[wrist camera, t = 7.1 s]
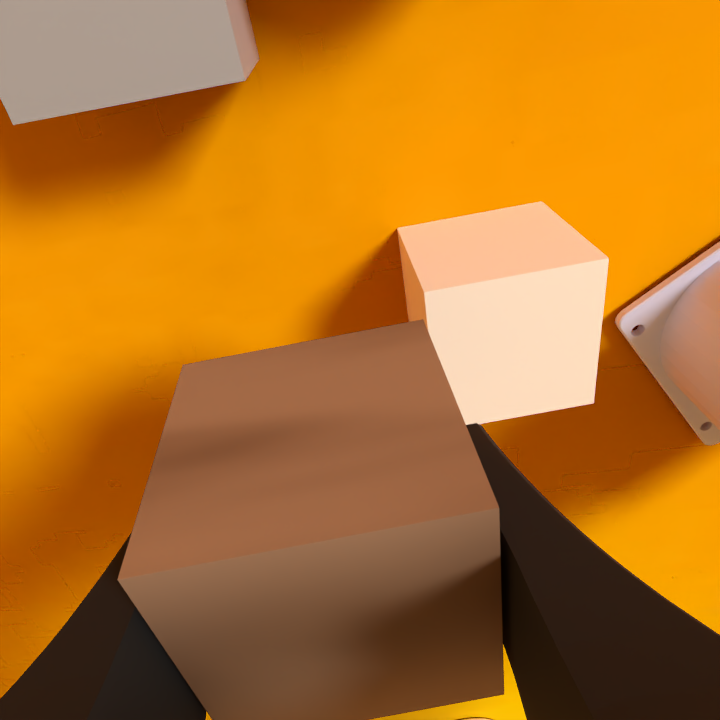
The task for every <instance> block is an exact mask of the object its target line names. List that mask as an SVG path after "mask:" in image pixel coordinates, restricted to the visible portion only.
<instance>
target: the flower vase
mask: <svg viewBox="0 0 720 720" xmlns="http://www.w3.org/2000/svg"><path fill="white" fill-rule="evenodd" d="M462 720H492V719H486V718H470V719H462Z"/></svg>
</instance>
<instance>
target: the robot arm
mask: <svg viewBox="0 0 720 720" xmlns="http://www.w3.org/2000/svg"><path fill="white" fill-rule="evenodd" d="M615 324H616V326H617V328H618V329H619V330H620V332H621V333H622V334H623V336H624V337H625V338H626V340H627V341H628V342H629V344H630V345H631V346H632V348H633V349H634V351H635V352H636V353H637V355H638V356H639V357H640V359H641V360H642V361H643V363H644V364H645V365H646V367H647V368H648V370H649V371H650V372H651V374H652V375H653V376H654V378H655V379H656V380H657V382H658V383H659V384H660V386H661V387H662V388H663V390H664V391H665V393H666V394H667V395H668V397H669V398H670V399H671V401H672V402H673V403H674V405H675V406H676V407H677V409H678V410H679V412H680V413H681V414H682V416H683V417H684V418H685V420H686V421H687V422H688V424H689V425H690V426H691V428H692V429H693V430H694V432H695V433H696V435H697V436H698V437H699V439H700V440H701V441H702V442H703V443H704V444H705V445H715V444H717V443H719V442H720V241H719V242H718V243H717V244H715V245H714V246H712V247H711V248H709V249H708V250H707V251H705V252H704V253H702V254H701V255H699V256H698V257H697V258H695V259H694V260H692V261H691V262H690V263H688V264H687V265H685V266H684V267H682V268H681V269H680V270H678V271H677V272H675V273H674V274H673V275H671V276H670V277H668V278H667V279H665V280H664V281H663V282H661V283H660V284H658V285H657V286H655V287H654V288H653V289H651V290H650V291H648V292H647V293H646V294H644V295H643V296H641V297H640V298H638V299H637V300H636V301H634V302H633V303H631V304H630V305H629V306H627V307H626V308H624V309H623V310H622V311H621V312H619V313H618V315H617V317H616V319H615ZM637 325H639V327H638V328H637V329H636V330H634V331H632V329H633V328H634V327H635V326H637ZM466 427H467V429H468V432H469V434H470V436H471V439H472V441H473V444H474V446H475V449H476V451H477V454H478V456H479V459H480V461H481V464H482V466H483V469H484V471H485V474H486V476H487V479H488V481H489V484H490V486H491V489H492V491H493V494H494V496H495V498H496V501H497V503H498V506H499V518H500V556H501V594H502V633H503V645H504V647H505V650H506V653H507V656H508V659H509V661H510V664H511V667H512V670H513V673H514V676H515V680H516V683H517V687H518V690H519V694H520V697H521V701H522V704H523V708H524V711H525V715H526V718H527V720H720V635H719V634H717V633H716V632H714V631H713V630H712V629H710V628H709V627H707V626H706V625H704V624H703V623H701V622H700V621H698V620H697V619H695V618H694V617H692V616H691V615H689V614H688V613H686V612H685V611H683V610H682V609H680V608H679V607H677V606H676V605H674V604H673V603H672V602H670V601H669V600H667V599H666V598H664V597H663V596H661V595H660V594H659V593H657V592H656V591H655V590H653V589H652V588H651V587H649V586H648V585H647V584H645V583H644V582H643V581H641V580H640V579H639V578H637V577H636V576H635V575H633V574H632V573H631V572H630V571H628V570H627V569H626V568H624V567H623V566H622V565H621V564H619V563H618V562H617V561H616V560H614V559H613V558H612V557H611V556H609V555H608V554H607V553H606V552H605V551H603V550H602V549H601V548H600V547H599V546H597V545H596V544H595V543H594V542H593V541H592V540H590V539H589V538H588V537H587V536H586V535H585V534H584V533H582V532H581V531H580V530H579V529H578V528H577V527H576V526H575V525H574V524H572V523H571V522H570V521H569V520H568V519H567V518H566V517H565V516H564V515H563V514H562V513H561V512H559V511H558V510H557V509H556V508H555V507H554V506H553V505H552V504H551V503H550V502H549V501H548V500H547V499H546V498H545V497H544V496H543V495H542V494H541V493H540V492H539V491H538V490H537V489H536V488H535V487H534V486H533V485H532V484H531V483H530V482H529V481H528V480H527V479H526V478H525V476H524V475H523V474H522V473H521V472H520V471H519V470H518V469H517V468H516V467H515V466H514V464H513V463H512V462H511V461H510V460H509V459H508V458H507V457H506V455H505V454H504V453H503V452H502V451H501V450H500V448H499V447H498V446H497V445H496V444H495V442H494V441H493V440H492V439H491V437H490V436H489V435H488V434H487V432H486V431H485V430H484V428H483V427H482V426H481V425H479V424H477V423H473V424H468V425H466ZM131 534H132V533H131ZM131 534H130V535H129V537H128V538H127V540H126V541H125V543H124V544H123V546H122V547H121V549H120V550H119V551H118V553H117V554H116V556H115V557H114V559H113V560H112V562H111V563H110V564H109V566H108V567H107V569H106V570H105V572H104V573H103V574H102V576H101V577H100V579H99V580H98V581H97V583H96V584H95V585H94V587H93V588H92V589H91V591H90V592H89V593H88V595H87V596H86V597H85V599H84V600H83V601H82V603H81V604H80V605H79V607H78V608H77V609H76V611H75V612H74V613H73V614H72V616H71V617H70V618H69V620H68V621H67V622H66V624H65V625H64V626H63V627H62V629H61V630H60V631H59V632H58V634H57V635H56V636H55V637H54V639H53V640H52V641H51V642H50V643H49V645H48V646H47V647H46V648H45V649H44V651H43V652H42V653H41V654H40V655H39V656H38V658H37V659H36V660H35V661H34V662H33V663H32V664H31V666H30V667H29V668H28V669H27V670H26V671H25V672H24V674H23V675H22V676H21V677H20V678H19V679H18V680H17V682H16V683H15V684H14V685H13V686H12V687H11V688H10V689H9V690H8V691H7V692H6V694H5V695H4V696H3V697H2V698H1V699H0V720H205V718H206V709H205V708H204V707H203V705H202V704H201V702H200V701H199V699H198V698H197V696H196V695H195V693H194V692H193V690H192V689H191V687H190V686H189V684H188V683H187V681H186V680H185V679H184V677H183V676H182V674H181V673H180V671H179V670H178V668H177V667H176V665H175V664H174V662H173V661H172V659H171V658H170V656H169V655H168V653H167V652H166V651H165V649H164V648H163V646H162V645H161V643H160V642H159V640H158V639H157V637H156V636H155V634H154V633H153V631H152V630H151V628H150V627H149V625H148V624H147V623H146V621H145V620H144V618H143V617H142V615H141V614H140V612H139V611H138V609H137V608H136V606H135V605H134V603H133V602H132V600H131V599H130V597H129V596H128V595H127V593H126V592H125V590H124V589H123V587H122V586H121V584H120V583H119V581H118V580H117V579H118V576H119V573H120V570H121V566H122V563H123V560H124V556H125V553H126V550H127V547H128V543H129V540H130V537H131Z"/></svg>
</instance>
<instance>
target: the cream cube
mask: <svg viewBox="0 0 720 720" xmlns="http://www.w3.org/2000/svg"><path fill="white" fill-rule="evenodd" d="M397 232H398V240H399V248H400V256H401V264H402V272H403V280H404V288H405V296H406V304H407V312H408V320H409V322H411V321H417V320H422V319H423V320H424V322H425V325H426V327H427V330H428V332H429V335H430V337H431V340H432V342H433V345H434V347H435V350H436V352H437V355H438V357H439V360H440V362H441V365H442V367H443V370H444V372H445V375H446V377H447V379H448V382H449V384H450V387H451V389H452V392H453V394H454V397H455V399H456V402H457V404H458V407H459V409H460V412H461V414H462V417H463V419H464V422H465V424H466V425H468V424H473V423H477V424H482V423H488V422H493V421H499V420H504V419H510V418H515V417H521V416H526V415H532V414H537V413H543V412H548V411H554V410H559V409H565V408H571V407H576V406H582V405H587V404H593V403H594V396H595V387H596V377H597V368H598V358H599V348H600V339H601V329H602V320H603V310H604V301H605V291H606V282H607V272H608V262H609V258H608V257H607V256H606V255H605V254H603V253H602V252H601V251H600V250H599V249H597V248H596V247H595V246H594V245H593V244H591V243H590V242H589V241H588V240H587V239H586V238H584V237H583V236H582V235H581V234H580V233H578V232H577V231H576V230H575V229H574V228H572V227H571V226H570V225H569V224H568V223H567V222H565V221H564V220H563V219H562V218H561V217H559V216H558V215H557V214H556V213H555V212H553V211H552V210H551V209H550V208H549V207H548V206H546V205H545V204H544V203H543V202H542V201H541V202H535V203H530V204H524V205H519V206H514V207H508V208H503V209H498V210H492V211H487V212H481V213H476V214H471V215H465V216H460V217H455V218H449V219H444V220H438V221H433V222H428V223H422V224H417V225H412V226H406V227H401V228H397Z"/></svg>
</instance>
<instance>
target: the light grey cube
mask: <svg viewBox="0 0 720 720" xmlns="http://www.w3.org/2000/svg"><path fill="white" fill-rule="evenodd" d="M258 60H259V55H258V50H257V46H256V42H255V37H254V33H253V29H252V24H251V20H250V16H249V11H248V7H247V3H246V0H0V99H1V101H2V103H3V105H4V107H5V109H6V111H7V113H8V115H9V117H10V119H11V122H12V124H13V125H16V124H21V123H27V122H32V121H37V120H42V119H48V118H53V117H58V116H63V115H68V114H74V113H79V112H84V111H89V110H94V109H100V108H105V107H110V106H115V105H121V104H126V103H131V102H136V101H141V100H147V99H152V98H157V97H162V96H167V95H173V94H178V93H183V92H188V91H194V90H199V89H204V88H209V87H214V86H220V85H225V84H230V83H235V82H240V81H245V80H246V79H247V77H248V76H249V74H250V73H251V71H252V70H253V68H254V66H255V65H256V63H257V62H258Z"/></svg>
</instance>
